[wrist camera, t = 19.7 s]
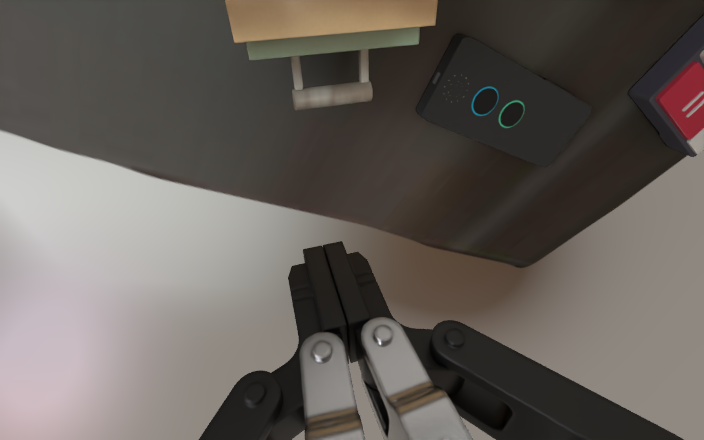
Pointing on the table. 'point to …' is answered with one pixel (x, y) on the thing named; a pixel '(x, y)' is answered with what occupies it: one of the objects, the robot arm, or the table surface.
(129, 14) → the table surface
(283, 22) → the cabinet
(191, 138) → the table surface
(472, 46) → the smart home device
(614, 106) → the table surface
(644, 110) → the calculator
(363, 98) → the drawer
